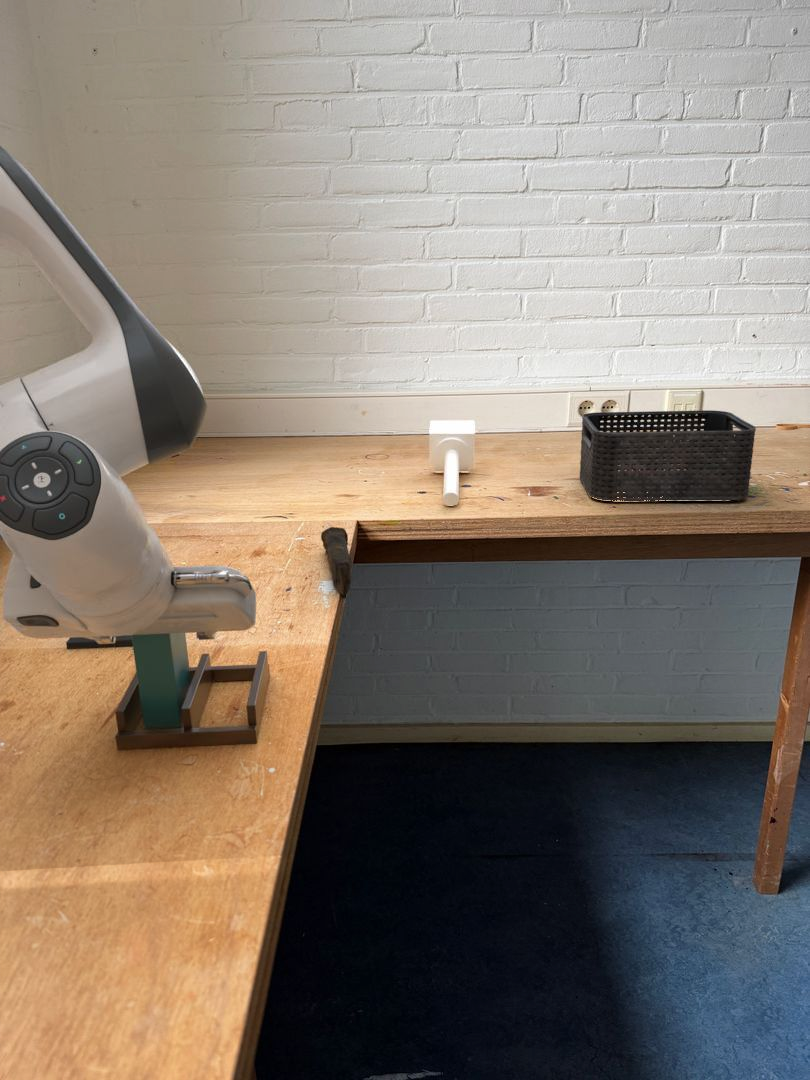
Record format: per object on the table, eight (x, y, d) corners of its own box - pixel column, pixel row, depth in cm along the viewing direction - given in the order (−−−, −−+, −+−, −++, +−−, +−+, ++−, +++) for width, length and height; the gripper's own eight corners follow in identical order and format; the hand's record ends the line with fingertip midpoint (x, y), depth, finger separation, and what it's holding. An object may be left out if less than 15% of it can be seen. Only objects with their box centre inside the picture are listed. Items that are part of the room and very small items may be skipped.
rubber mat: (66, 648, 93) (65, 642, 93) (97, 606, 104) (96, 601, 104) (171, 644, 94) (170, 638, 93) (190, 603, 105) (189, 597, 105)
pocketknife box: (144, 729, 77) (129, 625, 73) (158, 696, 83) (145, 599, 79) (181, 727, 77) (168, 623, 73) (192, 695, 83) (181, 597, 79)
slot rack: (117, 750, 74) (112, 717, 72) (150, 681, 86) (146, 652, 84) (256, 743, 74) (254, 710, 73) (270, 675, 86) (267, 646, 85)
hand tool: (322, 550, 123) (320, 522, 122) (348, 549, 124) (346, 520, 122) (323, 600, 105) (321, 567, 104) (354, 598, 106) (352, 566, 104)
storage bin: (591, 503, 144) (596, 430, 140) (576, 476, 163) (579, 410, 158) (753, 503, 143) (763, 429, 138) (719, 476, 161) (727, 409, 156)
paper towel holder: (474, 420, 169) (477, 477, 141) (473, 459, 173) (476, 522, 145) (430, 420, 170) (424, 477, 141) (430, 459, 174) (425, 521, 145)
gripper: (247, 538, 66) (268, 599, 78) (-6, 547, 65) (55, 607, 77) (245, 609, 63) (266, 661, 76) (-20, 620, 62) (46, 670, 75)
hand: (158, 634), depth 77 cm, fingers open, 8 cm apart
